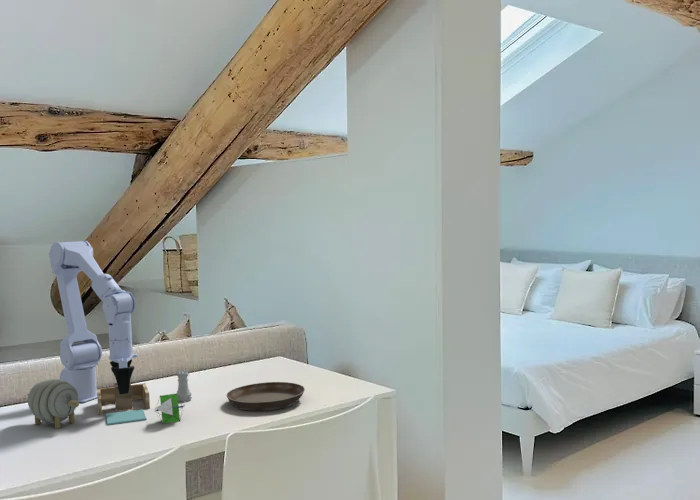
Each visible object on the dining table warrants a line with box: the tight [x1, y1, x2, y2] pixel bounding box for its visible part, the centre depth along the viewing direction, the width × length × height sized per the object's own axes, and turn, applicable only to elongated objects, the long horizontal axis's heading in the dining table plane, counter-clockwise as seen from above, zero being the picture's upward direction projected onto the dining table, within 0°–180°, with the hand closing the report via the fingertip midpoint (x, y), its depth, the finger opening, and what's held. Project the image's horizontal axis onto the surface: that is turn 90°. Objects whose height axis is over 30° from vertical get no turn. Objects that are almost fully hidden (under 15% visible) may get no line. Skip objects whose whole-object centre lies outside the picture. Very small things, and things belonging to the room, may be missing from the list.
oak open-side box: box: [96, 383, 151, 416], centre depth 180 cm, size 12×13×4 cm
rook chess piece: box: [175, 369, 193, 403], centre depth 184 cm, size 4×4×8 cm
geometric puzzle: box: [154, 393, 186, 425], centre depth 165 cm, size 7×7×8 cm
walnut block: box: [114, 382, 133, 412], centre depth 178 cm, size 4×4×6 cm
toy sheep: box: [26, 378, 80, 429], centre depth 165 cm, size 11×17×11 cm, turn 65°
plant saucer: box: [226, 381, 306, 412], centre depth 180 cm, size 21×21×3 cm
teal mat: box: [105, 408, 147, 426], centre depth 169 cm, size 9×9×1 cm
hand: (123, 390), depth 178 cm, fingers open, 7 cm apart
